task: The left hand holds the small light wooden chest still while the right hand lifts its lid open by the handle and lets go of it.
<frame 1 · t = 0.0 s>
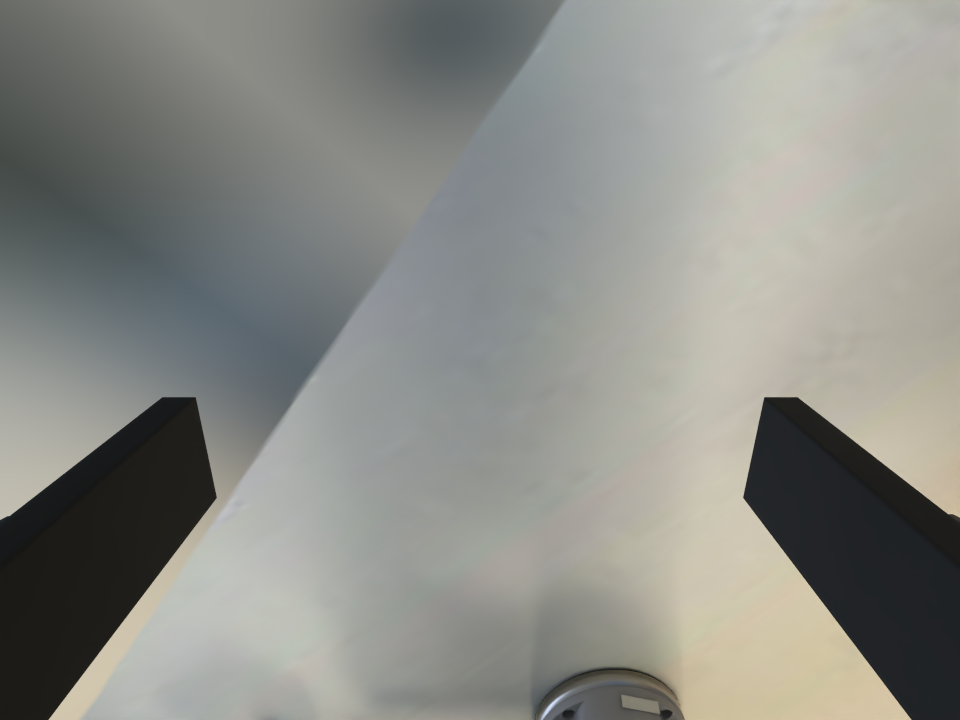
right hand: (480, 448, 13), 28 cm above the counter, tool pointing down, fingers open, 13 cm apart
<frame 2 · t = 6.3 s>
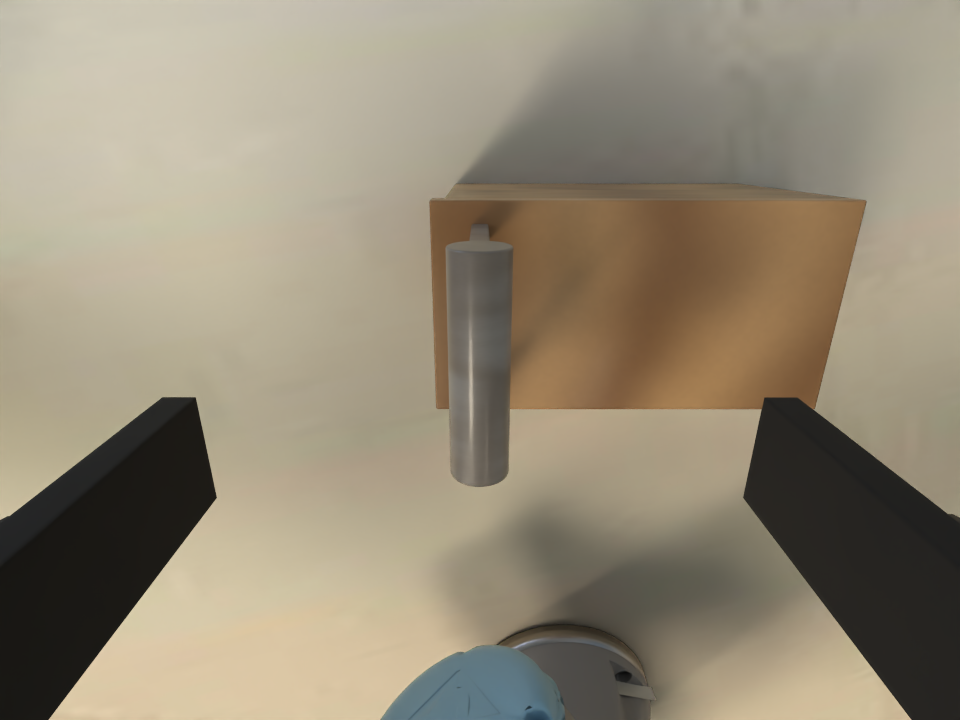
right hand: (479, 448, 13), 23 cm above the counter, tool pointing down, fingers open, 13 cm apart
chest: (590, 260, 34), on the counter
lid: (658, 335, 20), point 15 cm above the counter, hinge at 0.0°
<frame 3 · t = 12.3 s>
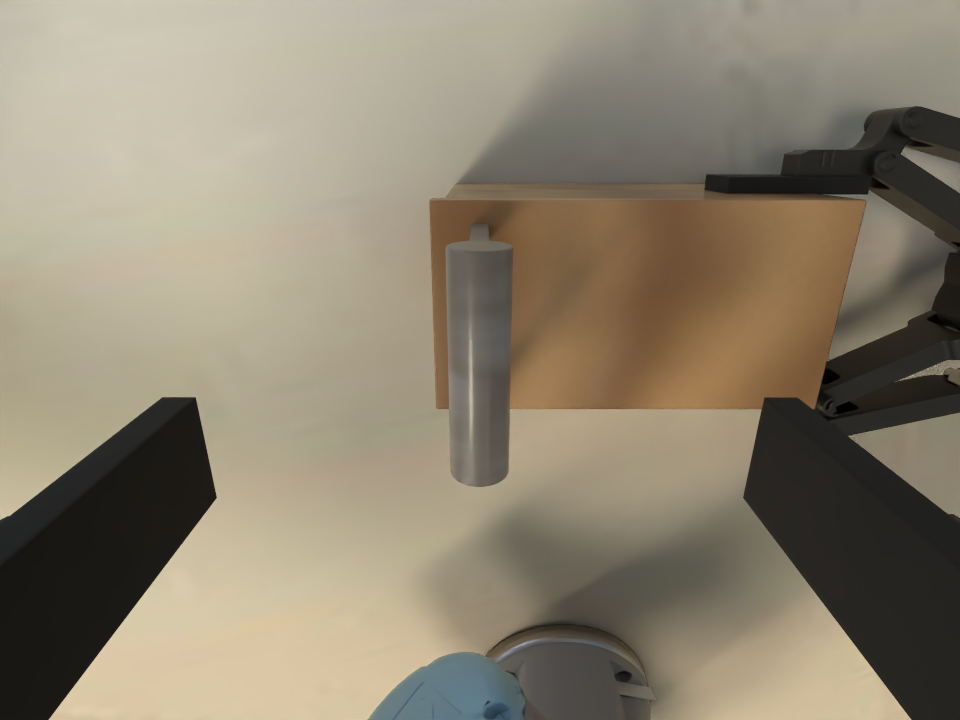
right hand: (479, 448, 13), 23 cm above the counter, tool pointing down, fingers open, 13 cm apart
left hand: (700, 286, 28), fingers closed on chest, 9 cm apart
chest: (590, 260, 34), on the counter, touching left hand
lid: (658, 335, 20), point 15 cm above the counter, hinge at 0.0°
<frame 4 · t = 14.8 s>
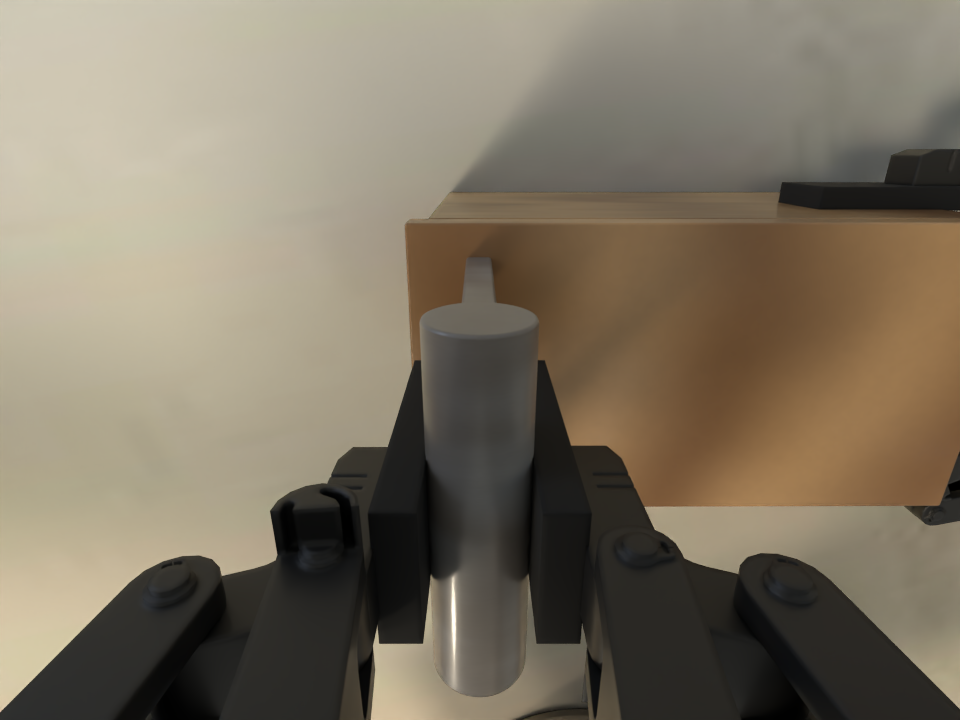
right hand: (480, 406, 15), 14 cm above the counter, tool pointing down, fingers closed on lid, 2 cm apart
chest: (618, 287, 27), on the counter, touching left hand
lid: (749, 429, 14), point 15 cm above the counter, hinge at 0.6°, touching right hand
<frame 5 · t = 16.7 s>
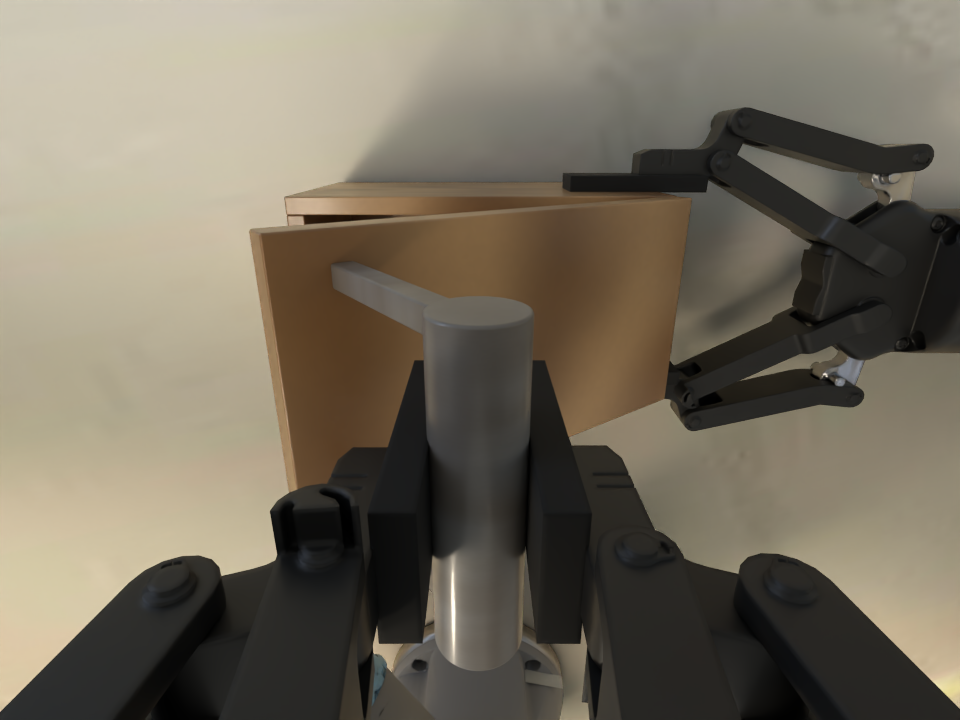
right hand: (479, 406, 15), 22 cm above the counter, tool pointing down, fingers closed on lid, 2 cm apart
left hand: (560, 281, 29), fingers closed on chest, 9 cm apart
chest: (477, 257, 35), on the counter, touching left hand
lid: (593, 370, 17), point 19 cm above the counter, hinge at 34.2°, touching right hand
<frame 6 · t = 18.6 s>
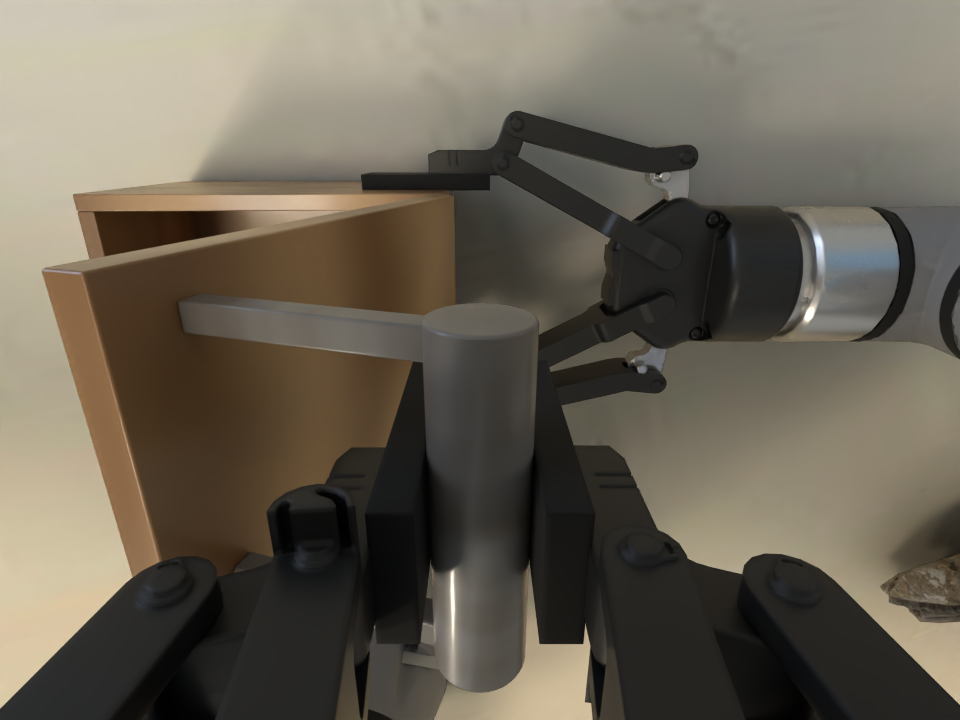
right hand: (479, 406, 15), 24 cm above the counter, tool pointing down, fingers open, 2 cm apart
left hand: (373, 274, 30), fingers closed on chest, 9 cm apart
chest: (324, 253, 37), on the counter, touching left hand
lid: (452, 366, 18), point 21 cm above the counter, hinge at 69.8°
when the left hand's fingers open (7 cm above the counter, at t = 22.8 s): chest stays where it is, on the counter.
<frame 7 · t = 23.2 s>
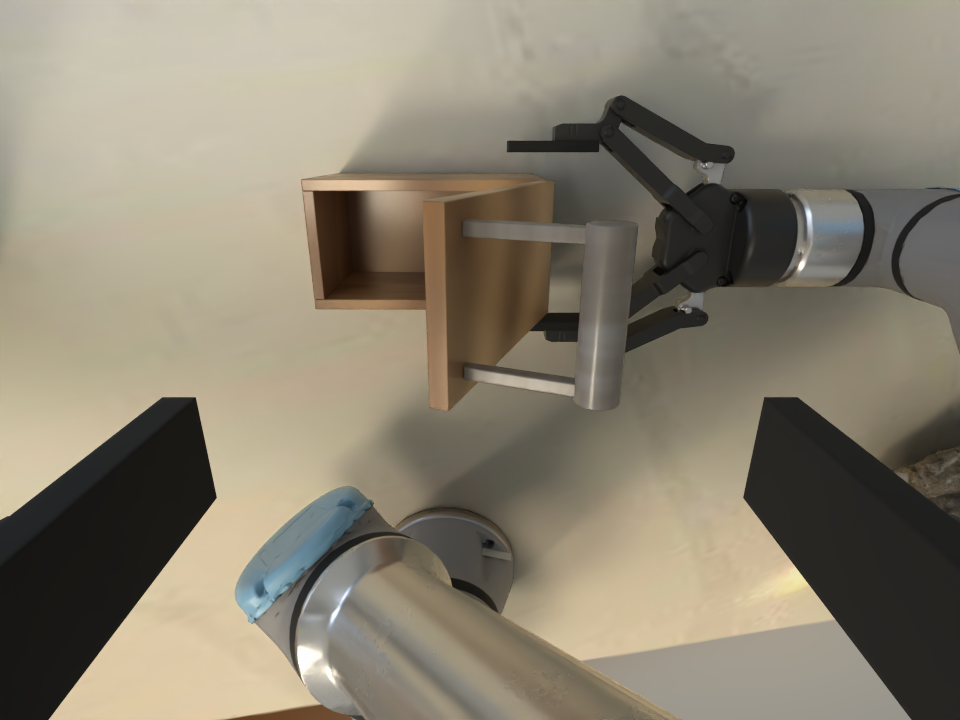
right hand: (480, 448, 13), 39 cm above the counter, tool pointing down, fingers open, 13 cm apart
left hand: (505, 239, 43), fingers open, 13 cm apart
fossil: (948, 449, 57), on the counter
chest: (436, 227, 49), on the counter
lid: (566, 278, 30), point 21 cm above the counter, hinge at 68.2°
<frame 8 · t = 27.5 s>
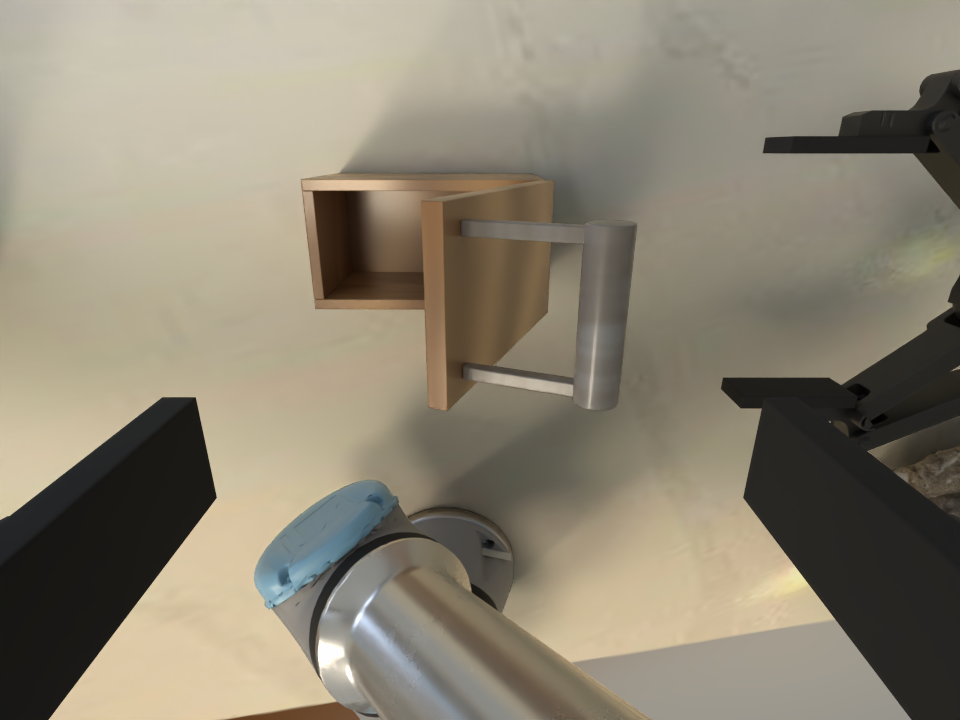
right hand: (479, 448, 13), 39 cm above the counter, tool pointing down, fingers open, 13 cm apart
left hand: (751, 279, 29), fingers open, 13 cm apart
fossil: (948, 449, 57), on the counter
chest: (436, 227, 49), on the counter
lid: (565, 278, 30), point 21 cm above the counter, hinge at 68.2°
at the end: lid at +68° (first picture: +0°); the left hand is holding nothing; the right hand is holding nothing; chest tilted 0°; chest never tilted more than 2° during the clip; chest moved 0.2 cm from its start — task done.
